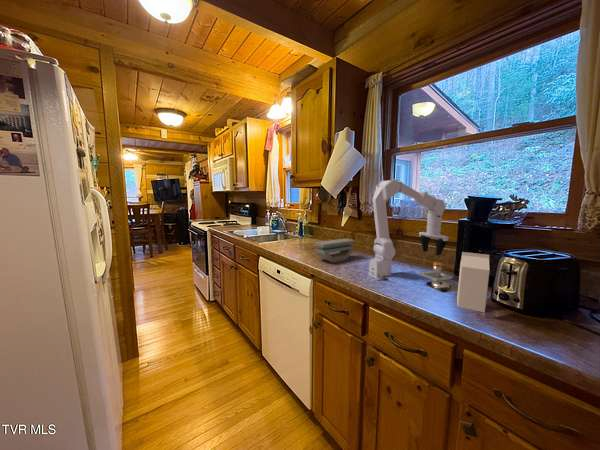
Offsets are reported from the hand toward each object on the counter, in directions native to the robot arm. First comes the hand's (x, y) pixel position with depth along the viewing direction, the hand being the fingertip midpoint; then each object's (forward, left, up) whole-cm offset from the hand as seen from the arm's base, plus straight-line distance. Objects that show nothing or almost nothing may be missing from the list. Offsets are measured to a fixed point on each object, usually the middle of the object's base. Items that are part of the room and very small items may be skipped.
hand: (431, 253), depth 113 cm
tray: (-4, -7, -10) cm, 13 cm away
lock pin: (-4, -7, -10) cm, 13 cm away
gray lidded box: (-32, +37, -11) cm, 50 cm away
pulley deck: (-10, -17, -10) cm, 22 cm away
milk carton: (-17, -32, -11) cm, 38 cm away
